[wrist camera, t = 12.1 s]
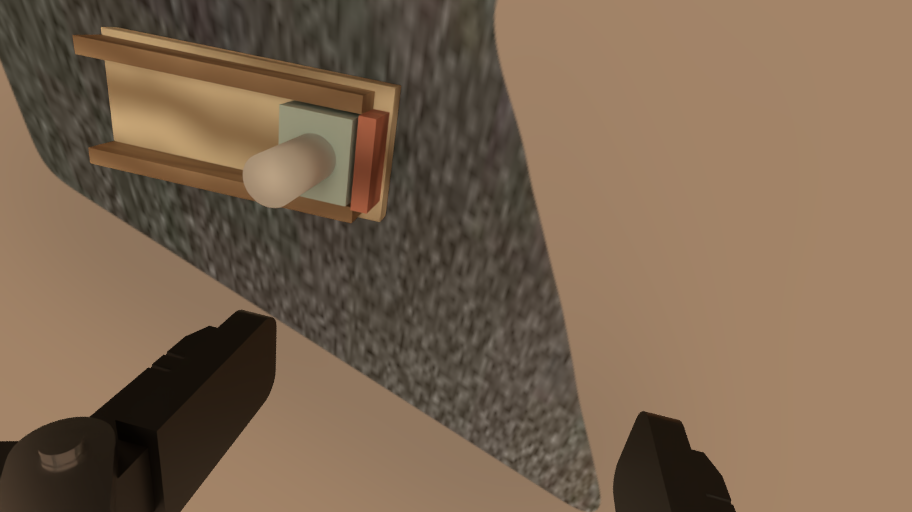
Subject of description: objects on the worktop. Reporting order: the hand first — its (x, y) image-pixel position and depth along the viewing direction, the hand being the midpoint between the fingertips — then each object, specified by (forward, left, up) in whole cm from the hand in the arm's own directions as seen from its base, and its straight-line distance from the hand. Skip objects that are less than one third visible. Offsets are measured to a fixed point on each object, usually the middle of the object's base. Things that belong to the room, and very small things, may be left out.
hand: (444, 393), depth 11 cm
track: (+3, -20, -28) cm, 35 cm away
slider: (+3, -13, -26) cm, 30 cm away
